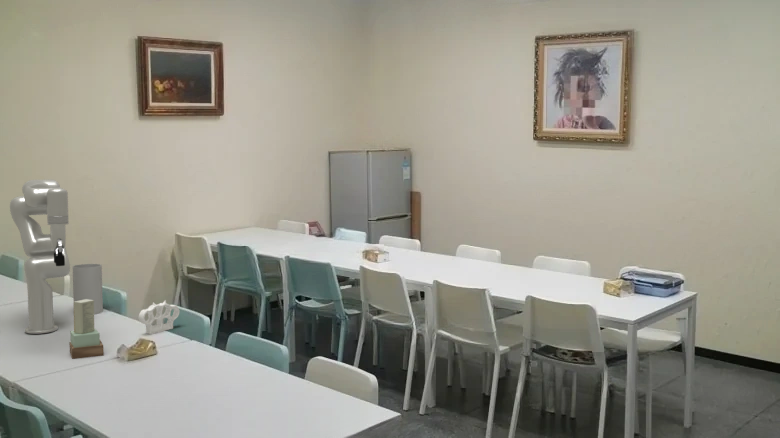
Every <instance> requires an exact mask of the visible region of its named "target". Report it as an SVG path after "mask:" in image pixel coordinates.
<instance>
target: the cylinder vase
mask: <svg viewBox="0 0 780 438" xmlns="http://www.w3.org/2000/svg"><path fill="white" fill-rule="evenodd" d="M102 267H103V266H102V264H100V263H84V264H83V263H82V264H75V265H72V293H73V297H72V298H73V299H72V300H73V302H74V301H79V300H84V299H89V300H94V316H95V315H100V314H101V313H103V311H104V307H103V305H104V303H103V302H104V300H103V271H102V269H103V268H102Z"/></svg>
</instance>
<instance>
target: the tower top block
mask: <svg viewBox="0 0 780 438" xmlns="http://www.w3.org/2000/svg"><path fill="white" fill-rule="evenodd" d="M69 331H70V330H69ZM100 336H101V335H100V332H99V331H98V330H97V329H96V328H94V331H92V332H88V333H84V334H79V333H74V330H71V331H70V342H71V344H72V345H73V346H74V348H77V347H86V346H94V345H100V340H101V339H100V338H101V337H100Z"/></svg>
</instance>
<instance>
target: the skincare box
mask: <svg viewBox="0 0 780 438" xmlns="http://www.w3.org/2000/svg"><path fill="white" fill-rule="evenodd" d="M94 329H95V315H94V300H89V299H84V300H79V301H74V300H73V331H74V333H79V334H84V333H88V332H92V331H94Z"/></svg>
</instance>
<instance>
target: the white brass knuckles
mask: <svg viewBox="0 0 780 438" xmlns="http://www.w3.org/2000/svg"><path fill="white" fill-rule="evenodd" d="M164 308H165V311H164V313H163V310H164ZM155 310H156V314H155V315H154V311H155ZM172 310H173V313H172V315H171V312H172ZM146 315H147V316H148V317H147V320H146V319H145V317H146ZM179 316H180V308H179V306H177V305H176V304H169V303H167V300H163V302H160V303H158V304H156V303H155V302H154V301H153V302H152V304H151V305H149V306H148V307H147V308H145V309H141V311H140V312H139V314H138V320H139V322H140V323H141V324H144V325H145V328H146V329H145V333H146V334H147V335H154V334H157V333H162V332H164V331H168V330H173V329H174V321H175V320H176V319H177V318H179ZM164 319H167V321H166V323H163V322H164ZM155 320H156V324H154V325H152V324H153V323H154V321H155Z"/></svg>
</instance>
